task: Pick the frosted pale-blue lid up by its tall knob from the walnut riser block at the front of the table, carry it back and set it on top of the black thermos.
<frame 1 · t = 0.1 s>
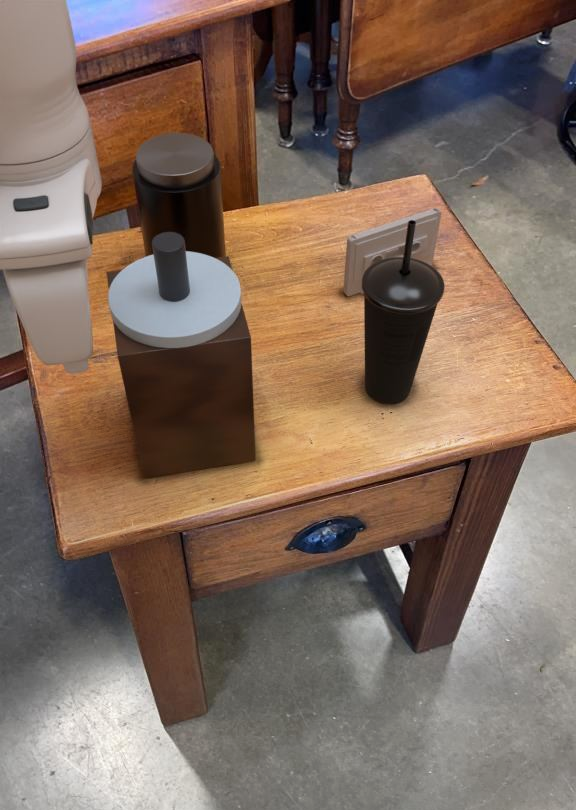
hand: (73, 326, 67), 17 cm above the table, tool pointing down, fingers open, 8 cm apart
riser: (192, 428, 84), on the table
thermos: (188, 276, 98), on the table
cassette: (387, 281, 98), on the table
lid: (176, 303, 71), point 16 cm above the table, touching riser
drinking cup: (387, 388, 88), on the table
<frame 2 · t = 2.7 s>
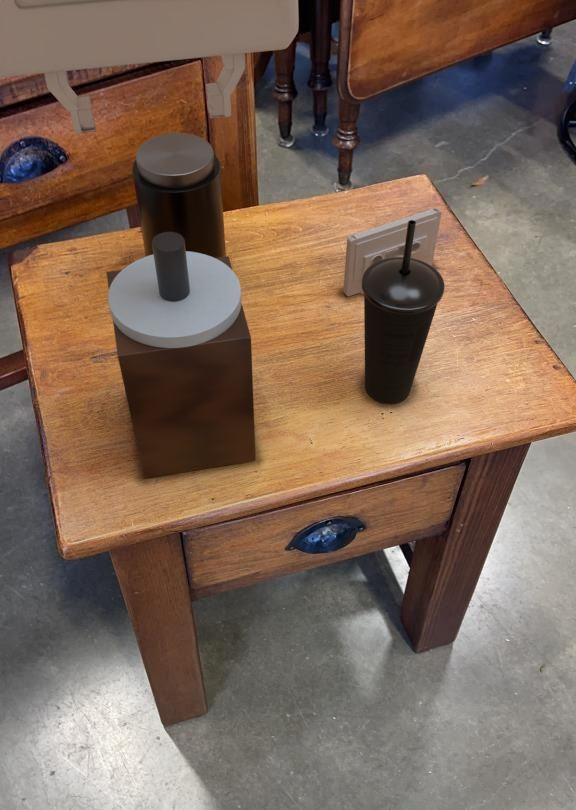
hand: (152, 121, 58), 32 cm above the table, tool pointing down, fingers open, 8 cm apart
nothing on the table moved.
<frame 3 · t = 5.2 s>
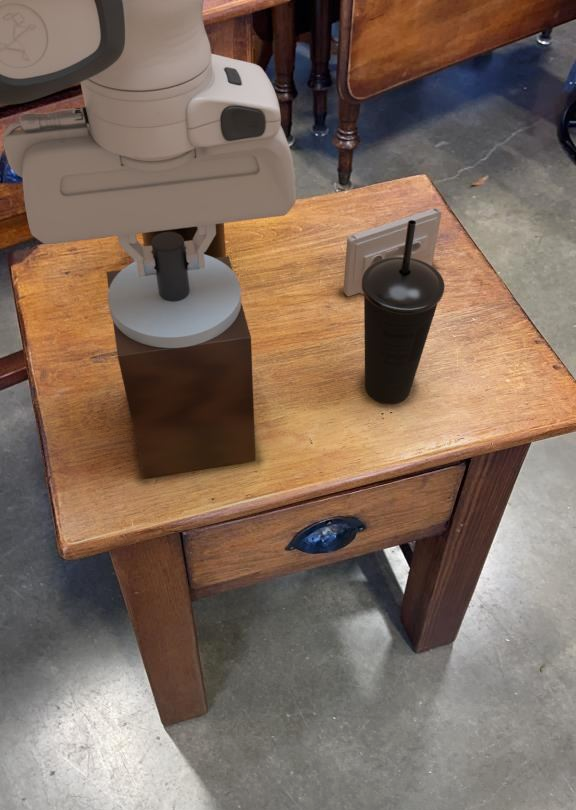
hand: (171, 268, 68), 20 cm above the table, tool pointing down, fingers closed on lid, 2 cm apart
lid: (175, 303, 71), point 16 cm above the table, touching gripper, riser
everything else where it was.
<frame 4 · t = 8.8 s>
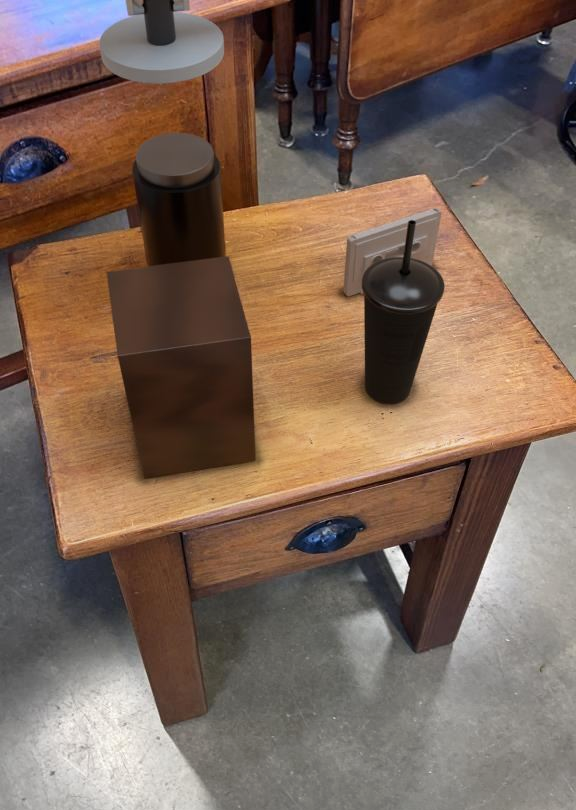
hand: (158, 10, 73), 30 cm above the table, tool pointing down, fingers closed on lid, 2 cm apart
lid: (163, 53, 76), point 26 cm above the table, touching gripper
everything else where it was.
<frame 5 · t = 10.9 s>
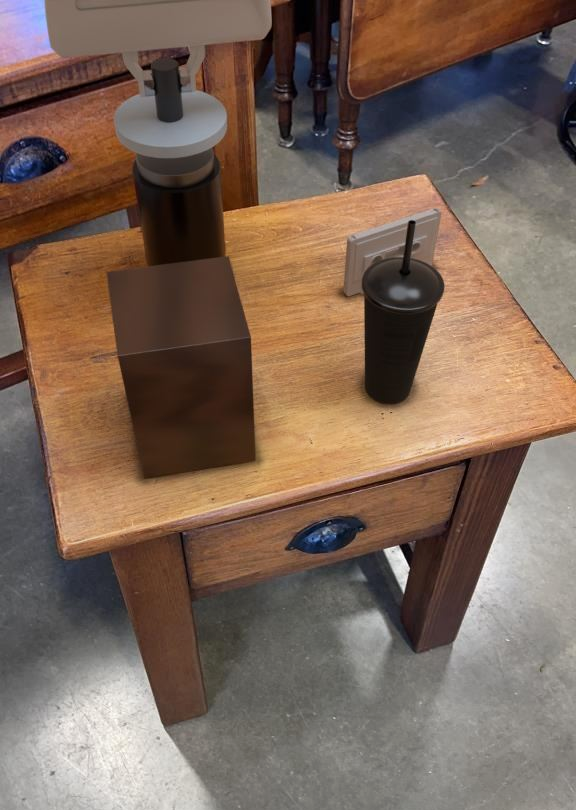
hand: (167, 91, 80), 22 cm above the table, tool pointing down, fingers closed on lid, 2 cm apart
lid: (171, 127, 83), point 18 cm above the table, touching gripper
everything else where it was.
when the fingers open (19 cm above the table, at t = 12.4 s): lid stays where it is, resting on thermos.
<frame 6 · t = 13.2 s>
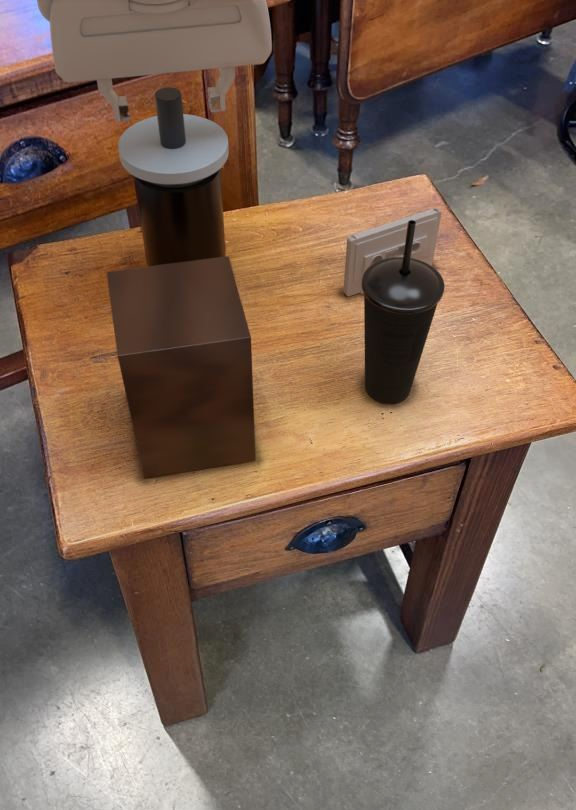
hand: (170, 113, 82), 20 cm above the table, tool pointing down, fingers open, 8 cm apart
lid: (174, 153, 85), point 15 cm above the table, touching thermos
everything else where it was.
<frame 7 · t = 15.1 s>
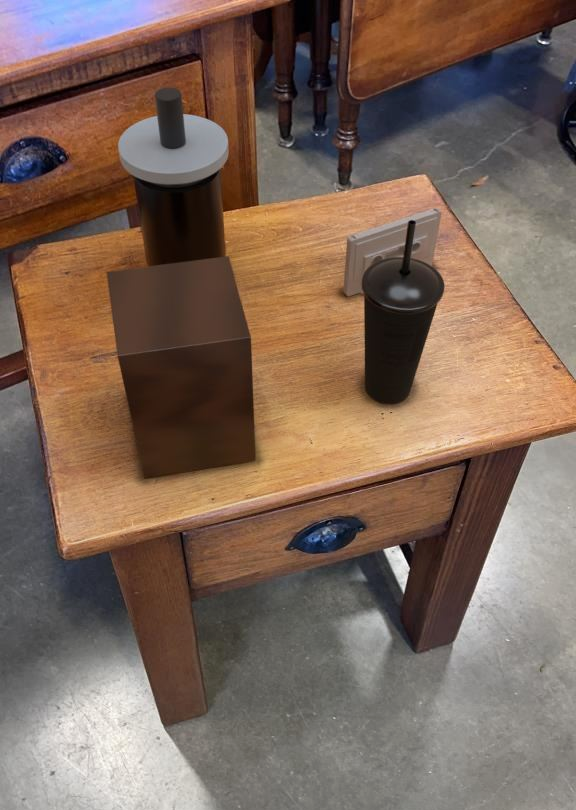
nothing on the table moved.
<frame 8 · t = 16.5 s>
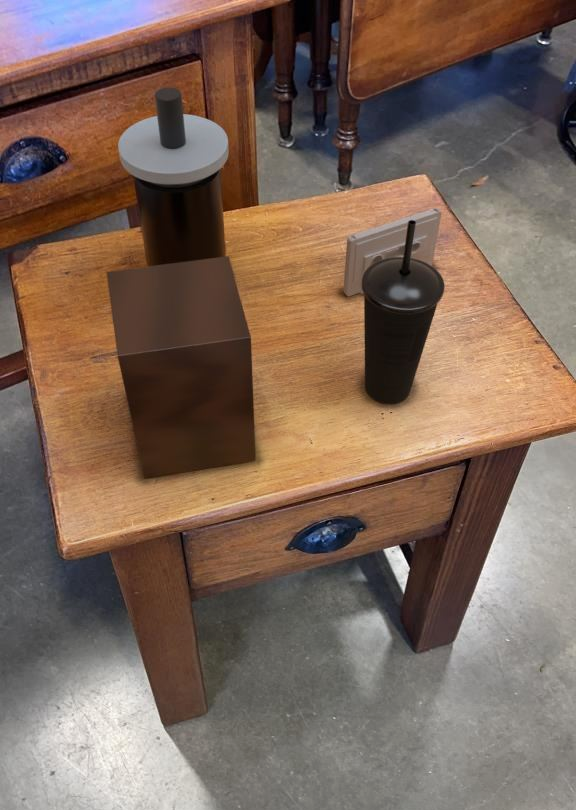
nothing on the table moved.
at the end: lid 0.0 cm off-centre on the thermos, point 15.5 cm above the thermos's base; lid tilted 0° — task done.
